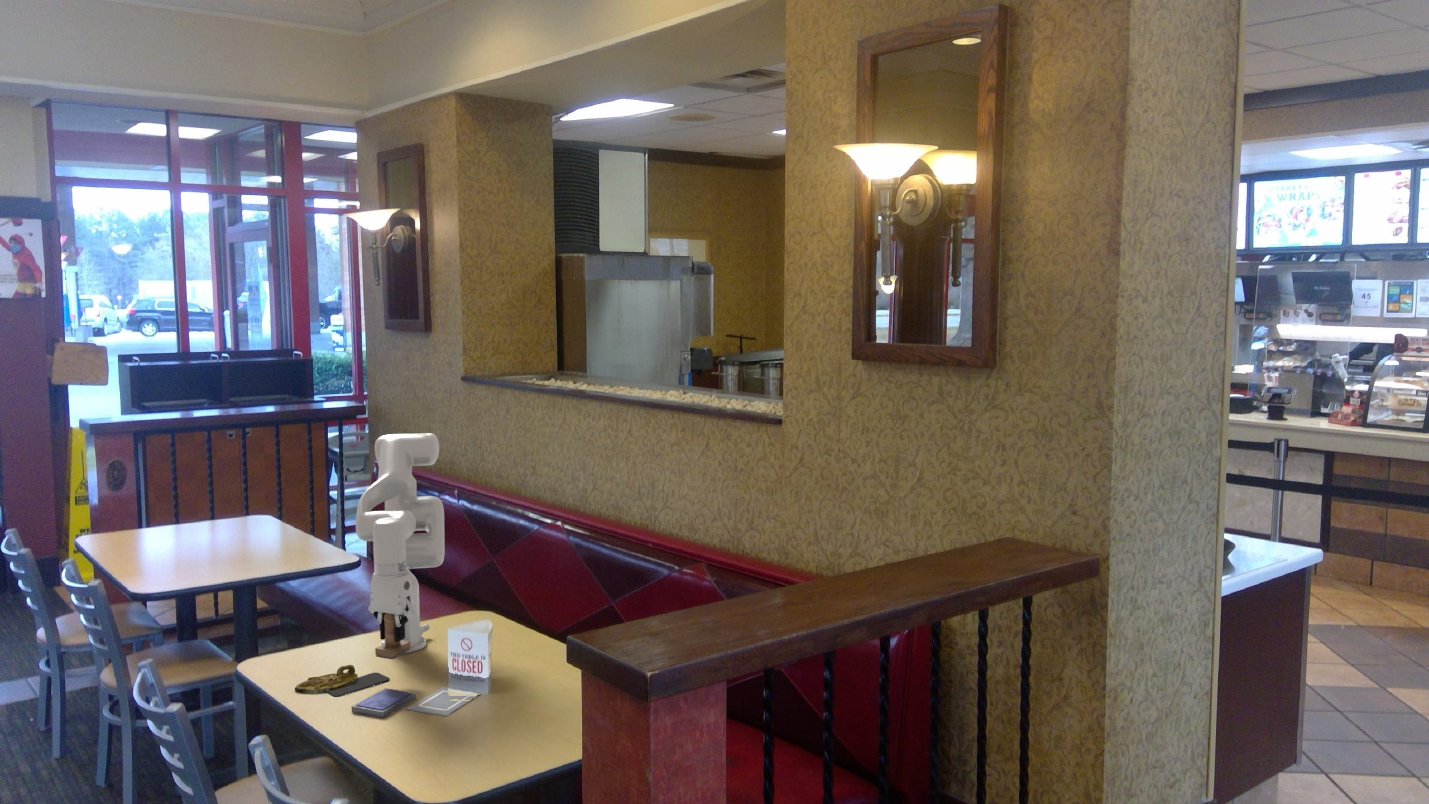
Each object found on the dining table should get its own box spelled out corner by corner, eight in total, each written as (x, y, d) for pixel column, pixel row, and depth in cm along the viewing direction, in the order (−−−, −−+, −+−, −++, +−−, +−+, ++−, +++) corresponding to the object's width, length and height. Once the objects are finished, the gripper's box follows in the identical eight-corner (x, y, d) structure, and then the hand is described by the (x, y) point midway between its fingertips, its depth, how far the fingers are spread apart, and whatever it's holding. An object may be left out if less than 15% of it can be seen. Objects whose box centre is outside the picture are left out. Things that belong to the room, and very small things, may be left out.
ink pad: (385, 693, 246) (385, 687, 246) (416, 698, 243) (415, 692, 243) (351, 712, 235) (351, 705, 235) (383, 718, 232) (383, 711, 231)
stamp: (394, 646, 255) (392, 603, 254) (410, 649, 254) (409, 606, 252) (375, 656, 249) (374, 612, 247) (392, 659, 247) (390, 615, 246)
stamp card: (443, 688, 250) (443, 686, 249) (481, 694, 246) (480, 692, 246) (407, 709, 236) (407, 708, 236) (446, 716, 233) (446, 715, 233)
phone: (320, 688, 248) (375, 671, 259) (320, 692, 248) (376, 674, 260) (335, 696, 243) (391, 678, 255) (336, 699, 243) (391, 681, 255)
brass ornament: (300, 703, 243) (363, 688, 252) (300, 685, 242) (362, 670, 251) (290, 687, 251) (351, 673, 260) (289, 669, 250) (351, 656, 259)
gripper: (427, 567, 249) (429, 638, 251) (373, 559, 255) (375, 629, 257) (408, 576, 242) (410, 649, 244) (352, 568, 248) (355, 639, 250)
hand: (392, 638), depth 251 cm, fingers closed on stamp, 3 cm apart
